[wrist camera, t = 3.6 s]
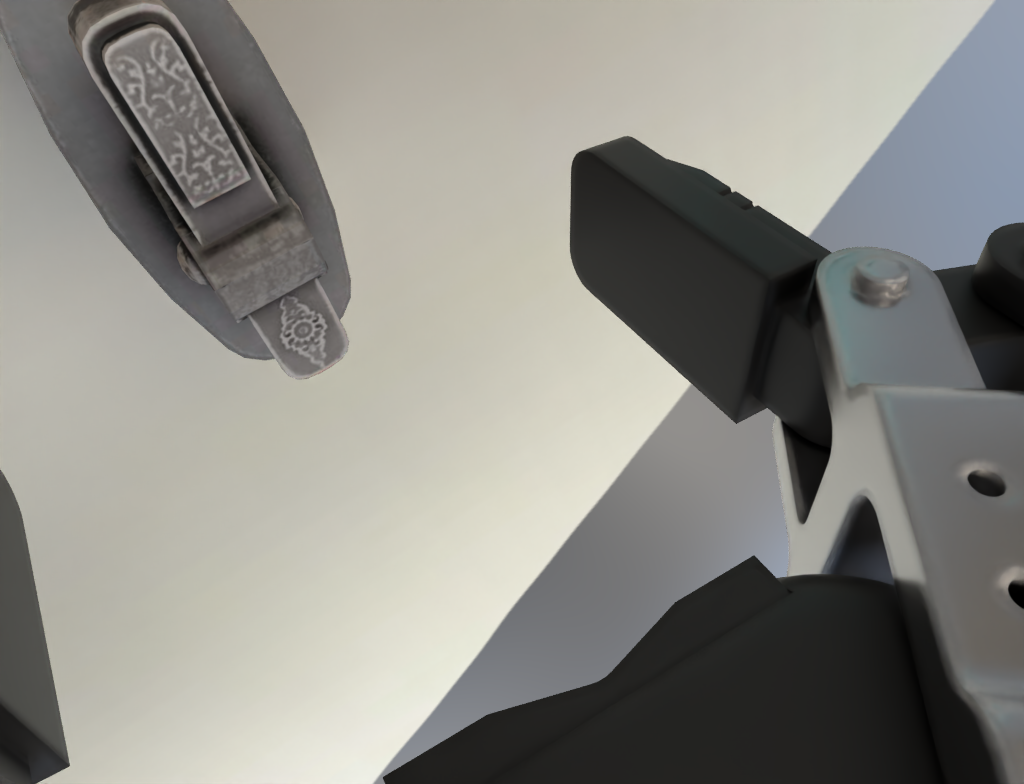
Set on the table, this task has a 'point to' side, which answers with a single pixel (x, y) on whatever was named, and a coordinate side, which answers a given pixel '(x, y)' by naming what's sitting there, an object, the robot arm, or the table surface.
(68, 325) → the table surface
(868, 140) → the table surface
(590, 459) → the table surface
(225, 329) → the lighter
